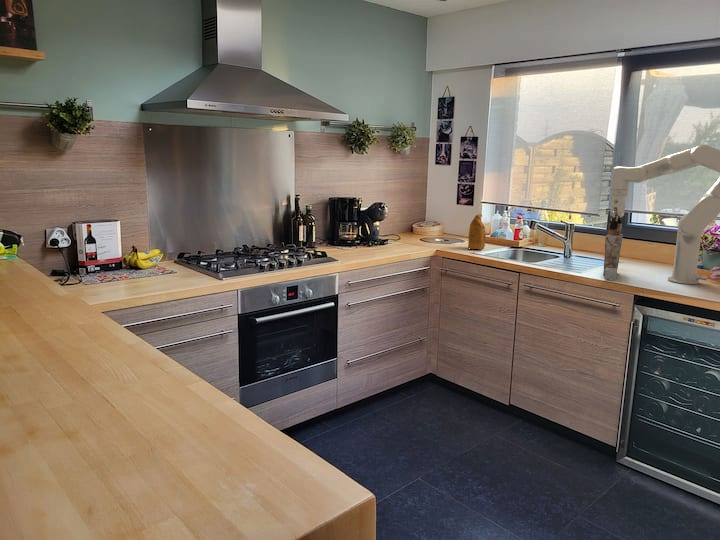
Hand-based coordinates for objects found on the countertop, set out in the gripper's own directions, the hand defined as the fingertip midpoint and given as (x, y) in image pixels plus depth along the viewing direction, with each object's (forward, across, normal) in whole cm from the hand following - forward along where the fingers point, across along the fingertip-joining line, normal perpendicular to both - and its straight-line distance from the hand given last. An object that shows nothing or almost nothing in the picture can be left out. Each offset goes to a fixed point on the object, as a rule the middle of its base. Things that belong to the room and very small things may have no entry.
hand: (615, 228), depth 267 cm
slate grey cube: (+23, -12, -2) cm, 26 cm away
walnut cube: (+3, 0, 0) cm, 3 cm away
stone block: (+23, 0, 0) cm, 23 cm away
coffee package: (+23, +34, +84) cm, 93 cm away
